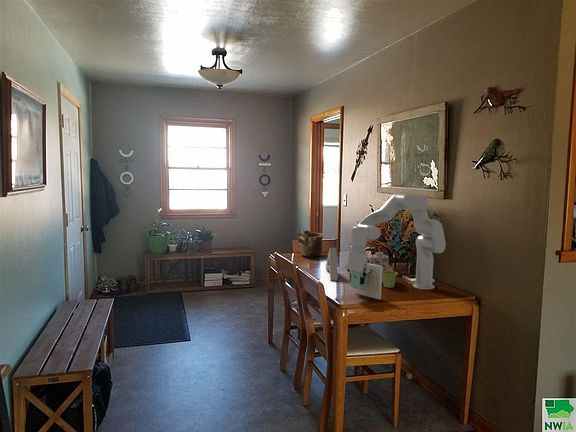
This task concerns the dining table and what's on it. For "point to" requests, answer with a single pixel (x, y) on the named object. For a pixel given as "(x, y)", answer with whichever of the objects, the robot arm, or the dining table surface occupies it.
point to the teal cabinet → (358, 279)
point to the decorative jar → (380, 261)
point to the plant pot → (389, 278)
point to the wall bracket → (332, 264)
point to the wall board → (372, 283)
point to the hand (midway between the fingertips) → (356, 282)
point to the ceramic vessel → (310, 243)
